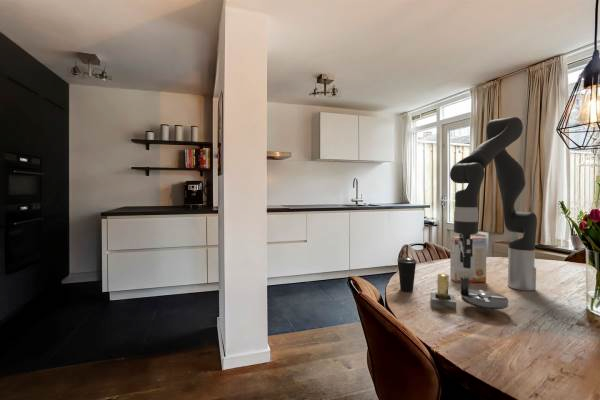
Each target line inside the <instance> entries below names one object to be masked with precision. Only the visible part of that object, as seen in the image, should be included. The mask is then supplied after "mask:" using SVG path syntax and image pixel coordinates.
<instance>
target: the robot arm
mask: <svg viewBox="0 0 600 400" xmlns="http://www.w3.org/2000/svg"><path fill="white" fill-rule="evenodd" d="M485 129H486V130H485V131H486V137H487V140H486V141H484V142H482V143H481V144H479V145H478V146H476V147H475V148H474V149H473V150H472V151H471V153H470V154H469V155H467V156H465V157H464V158H462V159H461V160H458V161H457V162H456V163H454V164H453V166H452V167H451V169H450V172H449V178H450V180H451V181H452V182H453V183H455V184H467V186H466V188H464V189H460V190H457V191H456V192H455V194H454V210H453V211H454V212H453V232H454V233H456V234H459V235H458V236H459V251H460V262H462V263H463V267H464V268H471V257H472V256H473V254H472V250H473V248H472V243H473V240H472V239H471V236H472V235H477V234H478V233H479V210H478V208H479V206H478V204H479V193H480V190H481V187H482V183H483V181H484V177H485V169H486V168H487V167H488V166H489V164H490V163H491V162H492V161H493V163H494V166H495V172H496V178H497V179H496V180H497V184H498V188H499V192H500V197H501V202H502V211H503V223H504V226H505V229H506V230H507V231H508V232H511V233H519V234H523V237H521V238H518V239H512V240H509V242H508V249H507V250H508V255H507V256H508V257H507V258H508V259H507V261H508V263H507V287H509V288H512V289H514V290H517V291H527V292H529V291H537V268H536V267H535V262H536V261H535V259H536V257H535V255H536V242H537V230H538V229H537V227H538V217H537V215H536V213H535V212H531V211H516V209H515V203H516V201H517V199H518V198H519V196H520V195H521V193H522V192H523V191H524V189H525V186H526V179H525V177H526V176H525V171H524V169H523V166H521V164H520V163H519V162H518V161H517V160H516V159H515V158H513V156H512V155H510V154H509V153H508V151H507V149H506V148H509V146H510V145H511V144H514V142H516V141H517V140H518V139H519V138H520V137H521V135H522V133H523V129H524V125H523V121H522V119H521V118H519V117H518V116H510V117H508V116H507V117H503V118H497V119H492V120H489V121H488V123H487V124H486V128H485ZM467 252H469V253H467Z"/></svg>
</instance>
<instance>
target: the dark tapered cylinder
mask: <svg viewBox="0 0 600 400" xmlns="http://www.w3.org/2000/svg"><path fill="white" fill-rule="evenodd" d="M417 262H418V261H417V260H416V259H415V258H413V257H410V256H409V245H408V244H407V245H406V246H405V256H403V257H400V258H398V259H397V264H398V276H399V287H400V291H402V292H405V293H412V292H414V285H415V274H416V265H417Z"/></svg>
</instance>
